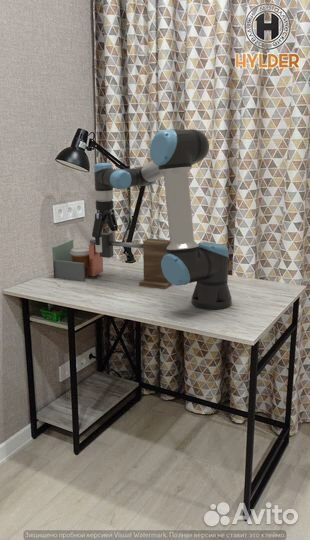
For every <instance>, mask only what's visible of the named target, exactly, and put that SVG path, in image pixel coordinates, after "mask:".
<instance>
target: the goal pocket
mask: <svg viewBox="0 0 310 540" xmlns="http://www.w3.org/2000/svg"><path fill="white" fill-rule="evenodd" d="M73 248H74V239H69V240H68V241H64V242H62V243H59V244H57V245H54V246H52V249H51V250H52V264H53V265H52V266H53V267H52V268H53V269H52V270H53V279H58V280H59V279H60V280H69V281H78V282H85V281H86V277H85V265H84V263H79V262H73V261H72V255H71V253H70V252H71V249H73Z"/></svg>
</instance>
